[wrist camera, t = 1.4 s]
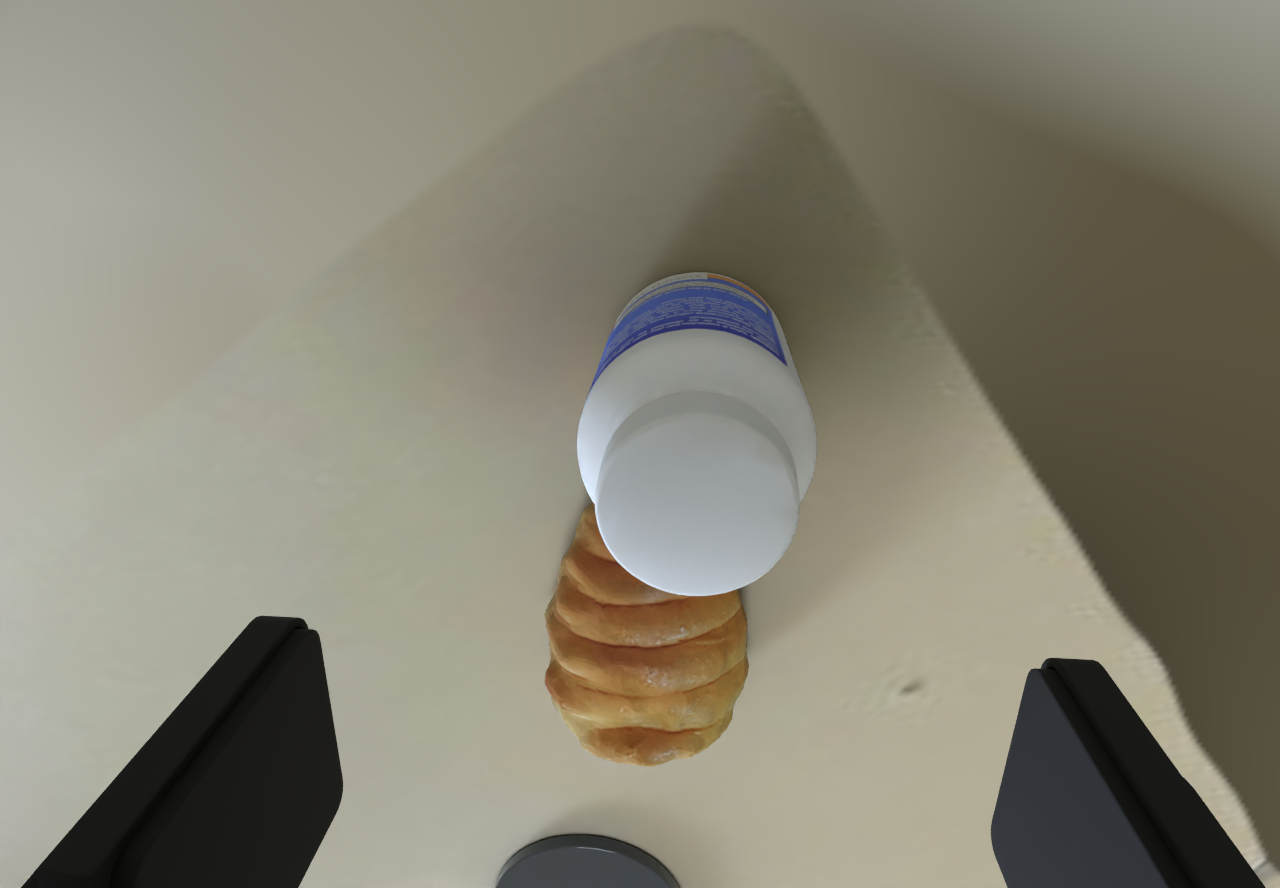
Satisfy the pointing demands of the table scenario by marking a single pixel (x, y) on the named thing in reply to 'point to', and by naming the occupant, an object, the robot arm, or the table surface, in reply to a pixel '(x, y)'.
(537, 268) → the table surface
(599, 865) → the coaster
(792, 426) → the pill bottle
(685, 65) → the table surface
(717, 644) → the pastry
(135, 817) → the robot arm
